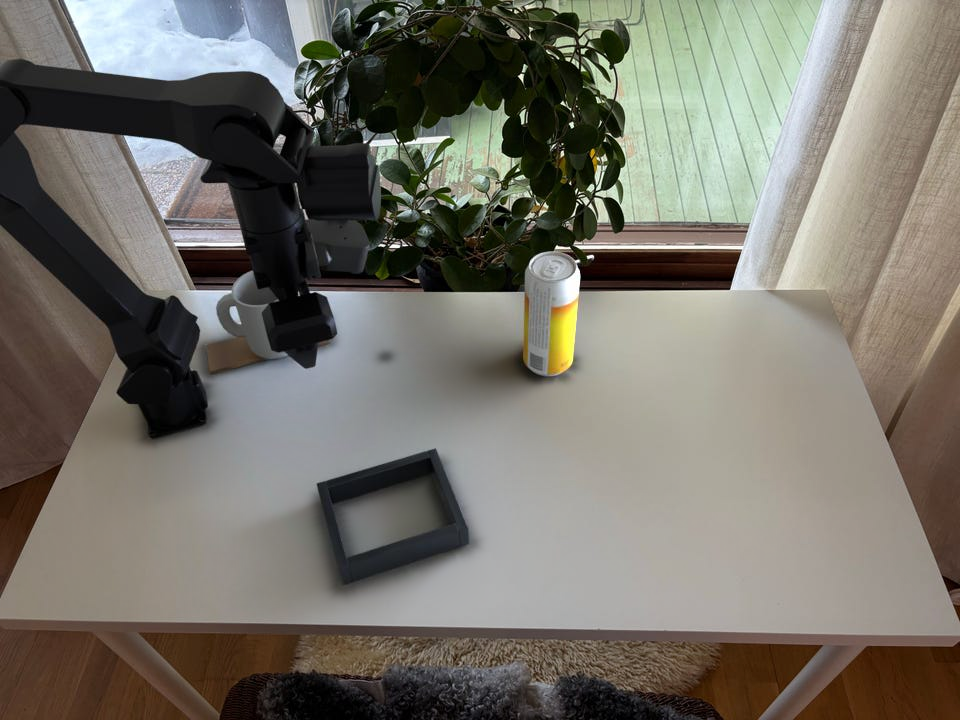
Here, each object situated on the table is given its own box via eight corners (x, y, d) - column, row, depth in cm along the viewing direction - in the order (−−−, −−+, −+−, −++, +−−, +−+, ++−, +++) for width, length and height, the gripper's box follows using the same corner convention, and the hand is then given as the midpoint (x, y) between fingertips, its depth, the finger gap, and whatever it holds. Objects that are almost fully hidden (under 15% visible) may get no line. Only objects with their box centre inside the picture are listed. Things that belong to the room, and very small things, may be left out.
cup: (303, 358, 98) (289, 304, 91) (222, 363, 97) (202, 310, 91) (308, 319, 103) (295, 265, 96) (231, 324, 102) (213, 270, 96)
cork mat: (210, 374, 97) (209, 371, 96) (206, 347, 100) (205, 344, 100) (330, 343, 100) (329, 340, 100) (322, 318, 103) (321, 315, 103)
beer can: (579, 352, 98) (588, 257, 87) (562, 385, 94) (569, 289, 83) (534, 339, 100) (537, 244, 89) (515, 370, 96) (516, 275, 85)
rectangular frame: (343, 585, 76) (338, 569, 74) (321, 499, 83) (316, 483, 81) (469, 543, 79) (468, 527, 77) (437, 464, 86) (435, 447, 84)
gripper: (380, 254, 68) (398, 377, 79) (334, 149, 80) (354, 268, 92) (251, 284, 66) (288, 407, 77) (223, 171, 78) (259, 291, 89)
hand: (301, 337), depth 84 cm, fingers open, 9 cm apart
